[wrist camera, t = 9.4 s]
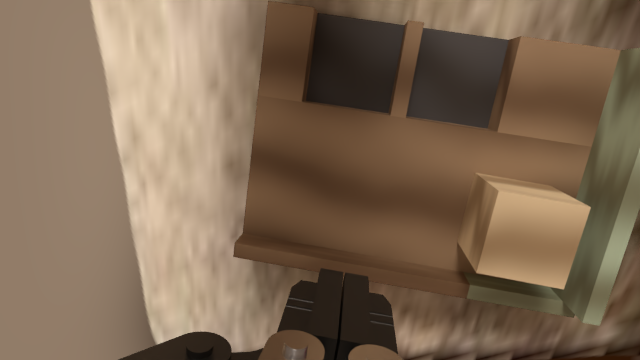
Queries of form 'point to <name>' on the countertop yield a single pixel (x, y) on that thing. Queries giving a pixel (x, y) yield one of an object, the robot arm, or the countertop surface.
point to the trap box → (435, 151)
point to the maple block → (521, 230)
